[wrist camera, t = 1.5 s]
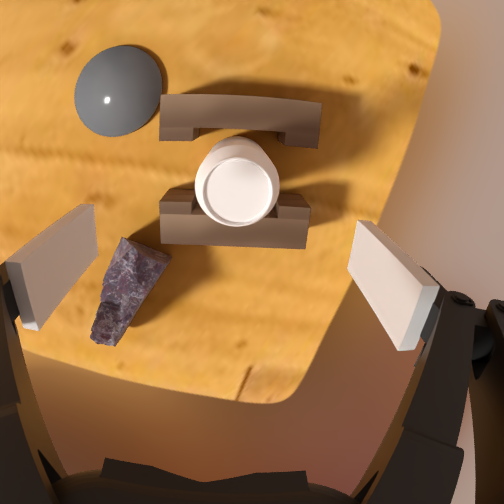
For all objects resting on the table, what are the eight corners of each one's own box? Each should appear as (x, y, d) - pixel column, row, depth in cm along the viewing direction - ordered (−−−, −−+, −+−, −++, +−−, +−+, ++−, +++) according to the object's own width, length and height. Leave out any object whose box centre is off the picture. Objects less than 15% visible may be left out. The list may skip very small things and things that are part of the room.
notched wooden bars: (171, 96, 29) (160, 94, 25) (309, 104, 30) (322, 103, 26) (170, 225, 35) (160, 243, 30) (296, 230, 36) (305, 249, 31)
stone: (107, 259, 25) (63, 361, 30) (169, 293, 27) (111, 386, 32) (133, 218, 35) (88, 309, 39) (179, 244, 37) (127, 329, 41)
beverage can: (196, 150, 32) (176, 171, 21) (252, 125, 31) (261, 132, 20) (221, 202, 34) (215, 248, 23) (275, 179, 33) (296, 214, 22)
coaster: (79, 53, 26) (77, 52, 25) (165, 42, 27) (164, 41, 26) (76, 139, 30) (74, 139, 30) (160, 134, 31) (159, 135, 30)
